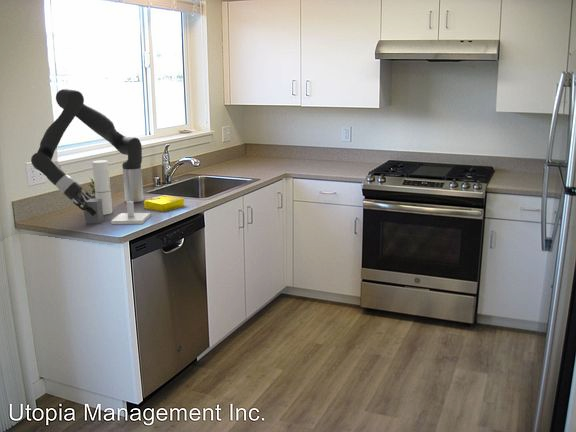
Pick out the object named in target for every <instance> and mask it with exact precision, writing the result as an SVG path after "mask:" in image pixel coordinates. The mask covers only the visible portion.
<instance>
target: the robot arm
mask: <svg viewBox="0 0 576 432" xmlns="http://www.w3.org/2000/svg"><path fill="white" fill-rule="evenodd" d="M55 100H56V104H57V105H58V106H59V107H60V108H61V109H63V110H62V112H61V113H60V115H59V116H58V118H56V119H55V120H54V121H53V122H52V123H51V125H50V126H48V128H47V129H46V130H45V132H44V134H43V135H42V136H43V137H42V138H41V139H40V143H39V148H38V150H37V152H36V153H33V154H32V156H31V159H30V161H31V164H32V166H33V168H34V169H35V170H37V171H39V172H41V174H43V175H44V176H45V177H46V178H47V180H48V181H50V183H51V184H53V185H54V186H56V188H57V190H59V191H60V192H61V193H62V194H63V195H64V196H65V197H66V198H68V199H69V200H70V201H71V200H73V201H72V204H74V205H75V206H77V207H78V208H79V209H80V210H81V211H83V212H84V210H85V211H86V210H87V211H88V212H89V213H90V214H91V215H92V216H94V215H95V214H96V211H94V210H93V209H92V208H91V207H90V206H89V205H88V204H87V200H88V199H94V198H93V197H92V196H93V195H92V194H91V193H90V192H89V191H87V192H83V191H82V190H83V186H81V185H80V184H79V183H78V182H76V180H75V179H74V178H72V177H71V176H70V175H68V174H67V173H65V171H64V170H62V169H61V168H60V167H59V166H58V165H57V164H55V163H54V161H52V159H53V156H54V153H55V151H56V149H57V148H58V147H59V146H58V145H59V144H60V142H61V139H62V137H63V136H64V134H65V132H66V131H67V129H68V127H70V124H71V123H72V122H73V120H74V118H75V117H76V118H77V119H78V120H80V121H81V122H82V123H84V125H86V126H87V127H88V128H89V129H91V130H92V131H93V132H94V133H96V134H97V135H99V136H100V137H101V138H103V140H106V142H108V143H110V145H111V146H113V147H114V148H115V149H116V150H117V152H119V153H121V154H122V155H126V156H127V160H126V161H124V162H122V164H121V165H122V174H123V175H122V176H123V186H124V187H123V188H124V200H125V202H126V203H127V202H128V201H133V203H138V202H144V190H143V188H144V187H143V175H142V161H143V153H142V152H143V151H142V150H143V147H142V143H141V140H140V139H139V138H137V137H135V136H126V135H123V134H122V133H120V132H119V131H117V129H116V127H115V125H114V122H113V121H112V120H111V119H110V118H109V117H107V116H106V115H105V114H104V113H102V112H101V111H98V110H97V109H94V108H92V107H91V106H89V105H87V104H85V98H84V95H83V93H82V92H81V91H79V90H76V89H69V88H63V89H60V90H58V91H57V92H56V96H55ZM83 202H84V203H83ZM85 204H86V205H85Z"/></svg>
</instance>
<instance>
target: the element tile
mask: <svg viewBox="0 0 576 432" xmlns="http://www.w3.org/2000/svg"><path fill="white" fill-rule="evenodd" d="M143 205H144V209H147V210H151V211H157V212H168V211H173V210H176V209H179V208H183V207H185V198H184V197H180V196H174V195H167V194H163V195H159V196H155V197H152V198H151V197H149V198H147V199H143Z"/></svg>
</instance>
